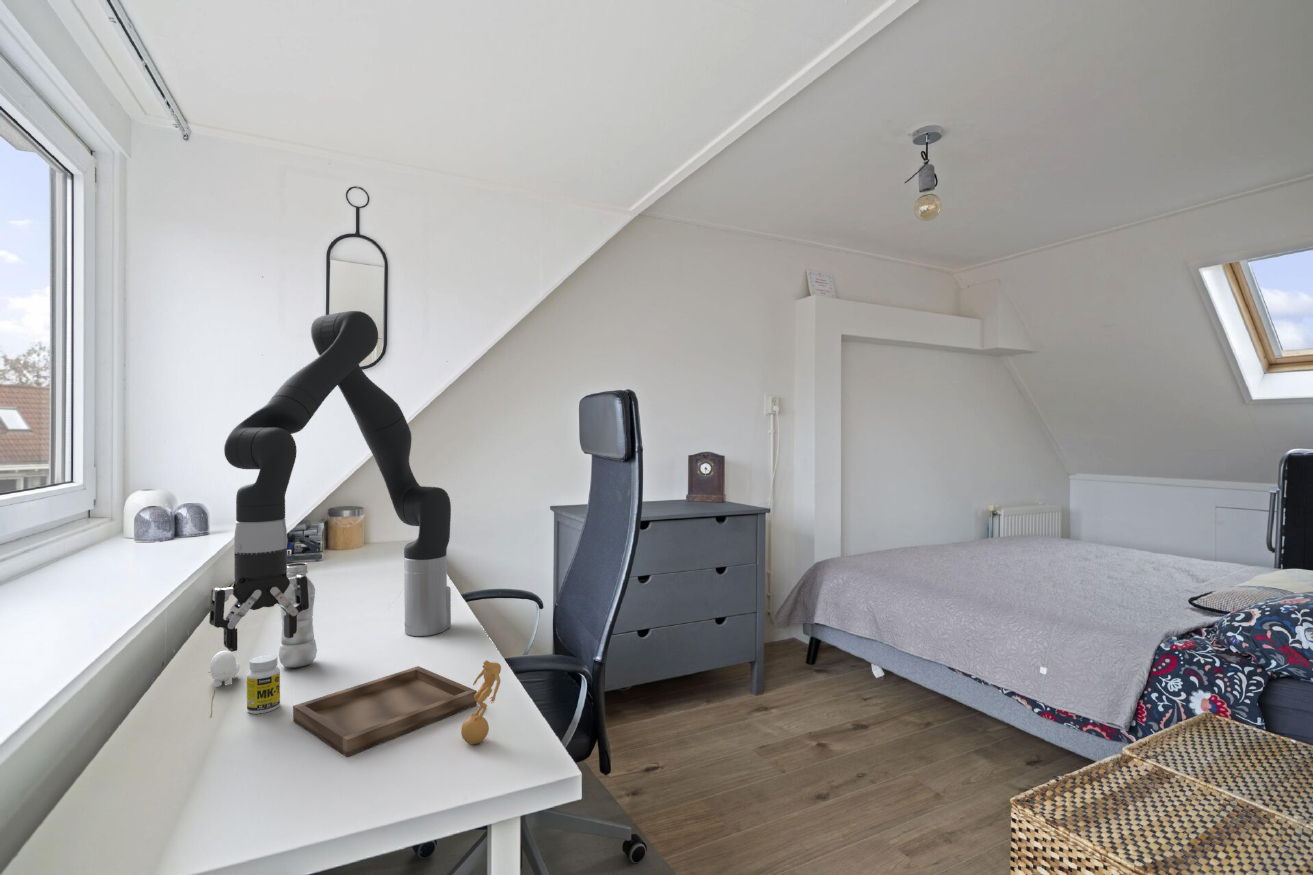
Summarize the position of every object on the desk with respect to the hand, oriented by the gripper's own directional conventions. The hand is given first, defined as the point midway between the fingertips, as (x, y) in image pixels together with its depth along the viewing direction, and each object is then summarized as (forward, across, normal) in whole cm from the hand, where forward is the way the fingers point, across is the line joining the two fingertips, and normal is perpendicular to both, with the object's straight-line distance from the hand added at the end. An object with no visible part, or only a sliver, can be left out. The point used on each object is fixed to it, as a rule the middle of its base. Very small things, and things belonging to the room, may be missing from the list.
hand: (261, 643), depth 109 cm
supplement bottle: (+11, 0, 0) cm, 11 cm away
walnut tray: (+11, -12, +18) cm, 24 cm away
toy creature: (+11, 0, -18) cm, 21 cm away
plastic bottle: (+11, -12, -16) cm, 23 cm away
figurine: (+11, -16, +38) cm, 43 cm away
